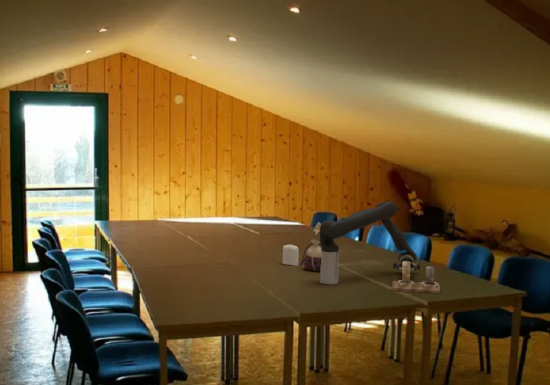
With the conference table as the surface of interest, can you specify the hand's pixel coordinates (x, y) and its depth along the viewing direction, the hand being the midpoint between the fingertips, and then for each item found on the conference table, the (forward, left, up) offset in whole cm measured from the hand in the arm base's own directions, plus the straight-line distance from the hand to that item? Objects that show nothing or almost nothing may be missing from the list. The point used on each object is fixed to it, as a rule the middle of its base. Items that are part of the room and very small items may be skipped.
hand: (406, 268), depth 326 cm
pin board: (+5, -6, -9) cm, 12 cm away
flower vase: (-50, +55, -9) cm, 75 cm away
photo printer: (-70, +40, -9) cm, 82 cm away
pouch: (-52, +25, -9) cm, 59 cm away
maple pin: (0, -5, -8) cm, 9 cm away
